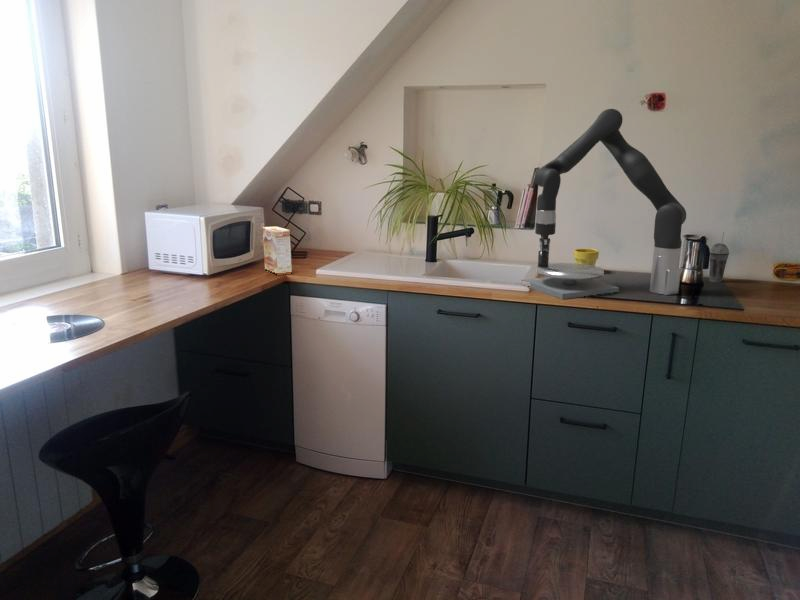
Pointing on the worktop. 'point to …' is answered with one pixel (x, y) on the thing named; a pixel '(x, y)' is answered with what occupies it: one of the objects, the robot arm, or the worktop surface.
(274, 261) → the coffeecake box
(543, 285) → the wheel base
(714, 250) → the beverage cup
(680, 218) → the robot arm
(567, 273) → the handwheel
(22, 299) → the worktop surface
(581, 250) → the plant pot
